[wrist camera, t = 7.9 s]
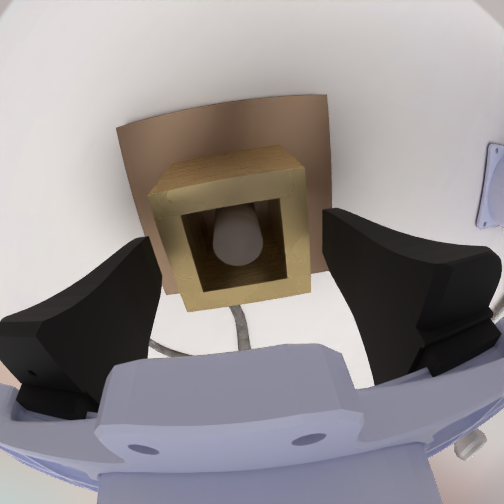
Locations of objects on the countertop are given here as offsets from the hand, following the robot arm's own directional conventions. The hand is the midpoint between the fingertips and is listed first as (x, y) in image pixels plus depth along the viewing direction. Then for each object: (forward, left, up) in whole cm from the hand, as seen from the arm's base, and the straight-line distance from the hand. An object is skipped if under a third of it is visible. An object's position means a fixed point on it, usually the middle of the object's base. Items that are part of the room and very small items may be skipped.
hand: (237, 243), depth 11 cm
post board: (0, 0, -6) cm, 6 cm away
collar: (0, 0, -4) cm, 4 cm away
